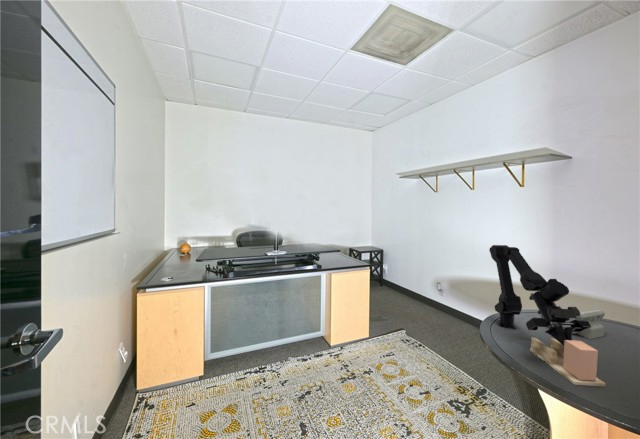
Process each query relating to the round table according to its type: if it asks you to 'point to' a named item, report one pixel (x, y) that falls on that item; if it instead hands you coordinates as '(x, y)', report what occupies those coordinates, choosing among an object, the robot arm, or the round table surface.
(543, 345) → the chute
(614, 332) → the round table surface
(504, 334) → the round table surface
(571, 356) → the block
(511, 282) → the robot arm
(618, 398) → the round table surface
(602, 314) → the digital clock
